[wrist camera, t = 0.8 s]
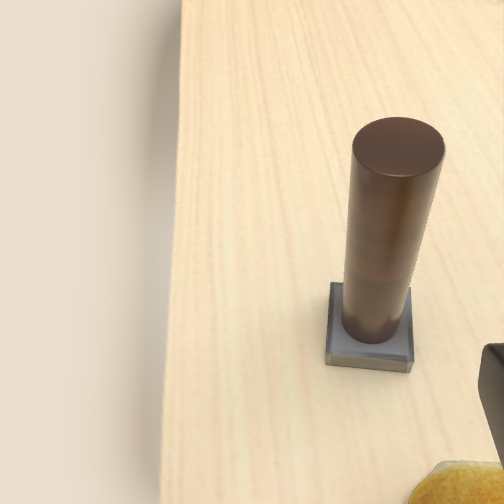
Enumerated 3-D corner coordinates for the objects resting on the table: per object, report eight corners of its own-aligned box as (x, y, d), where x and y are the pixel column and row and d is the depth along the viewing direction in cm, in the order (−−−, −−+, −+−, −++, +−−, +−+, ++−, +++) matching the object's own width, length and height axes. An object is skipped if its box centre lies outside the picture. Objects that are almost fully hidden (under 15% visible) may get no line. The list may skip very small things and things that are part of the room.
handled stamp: (410, 372, 24) (477, 195, 14) (325, 364, 25) (327, 191, 15) (406, 300, 27) (462, 103, 16) (330, 295, 28) (334, 104, 17)
